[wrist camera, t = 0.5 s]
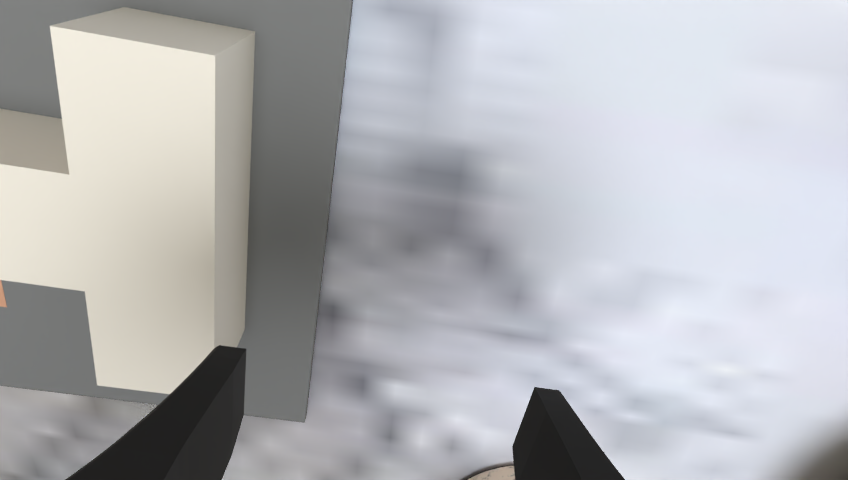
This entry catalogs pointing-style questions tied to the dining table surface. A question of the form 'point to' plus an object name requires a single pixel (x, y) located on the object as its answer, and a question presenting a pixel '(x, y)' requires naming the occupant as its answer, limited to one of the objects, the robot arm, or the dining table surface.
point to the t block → (138, 189)
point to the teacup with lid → (496, 474)
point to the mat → (268, 197)
